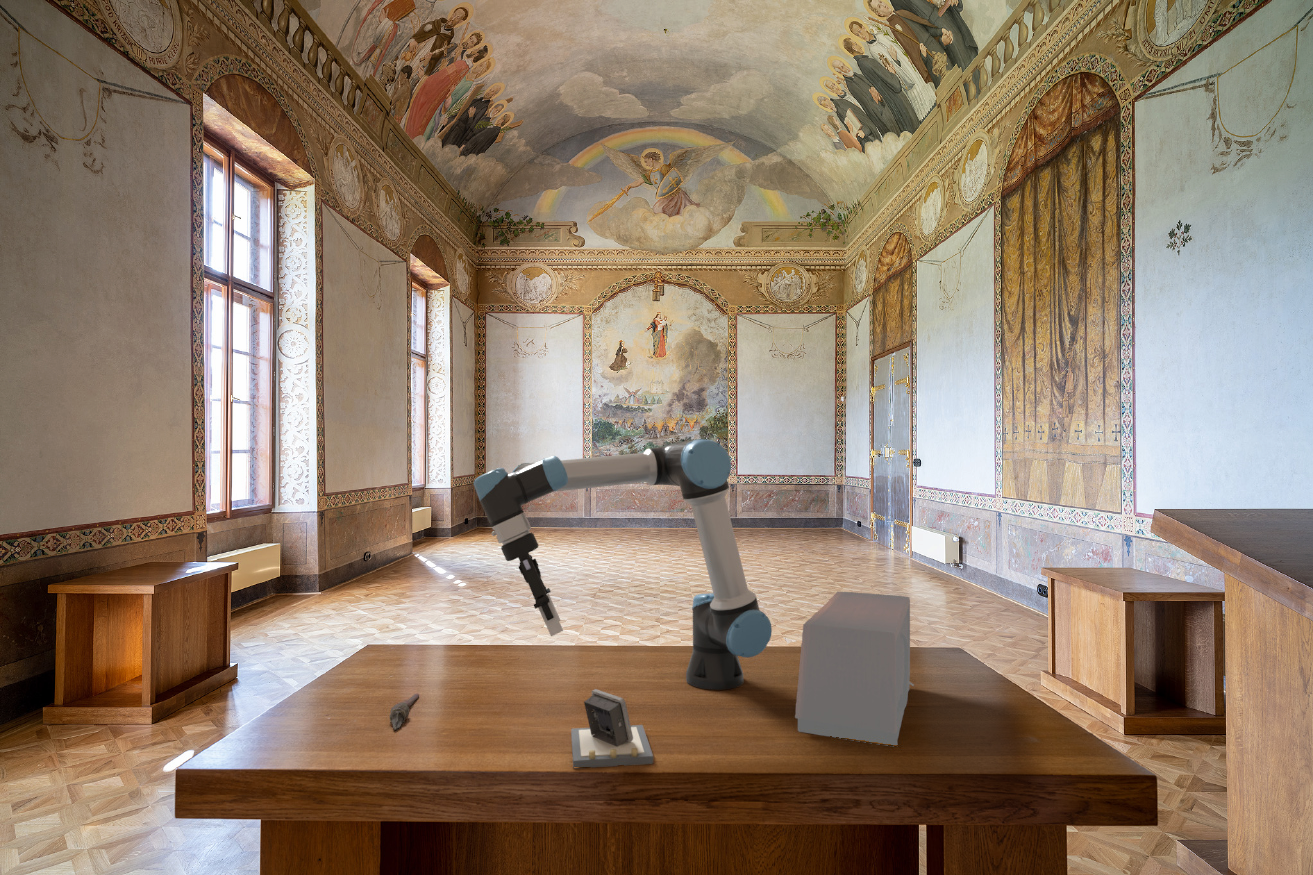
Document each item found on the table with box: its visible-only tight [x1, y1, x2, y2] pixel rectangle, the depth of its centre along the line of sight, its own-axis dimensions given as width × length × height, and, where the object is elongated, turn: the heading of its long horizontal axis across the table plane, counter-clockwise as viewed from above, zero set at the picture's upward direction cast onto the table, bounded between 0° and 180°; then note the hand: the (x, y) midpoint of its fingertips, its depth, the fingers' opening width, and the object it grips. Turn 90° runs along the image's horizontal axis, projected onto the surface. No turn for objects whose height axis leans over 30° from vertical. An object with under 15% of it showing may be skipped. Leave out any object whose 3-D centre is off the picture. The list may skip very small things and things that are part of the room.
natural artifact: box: [388, 692, 420, 731], centre depth 152 cm, size 4×23×4 cm, turn 1°
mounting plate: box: [570, 724, 654, 769], centre depth 133 cm, size 15×16×3 cm
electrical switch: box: [583, 688, 633, 747], centre depth 133 cm, size 9×5×9 cm, turn 46°
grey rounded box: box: [794, 591, 915, 745], centre depth 156 cm, size 45×22×24 cm, turn 154°
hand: (556, 628), depth 144 cm, fingers open, 13 cm apart
